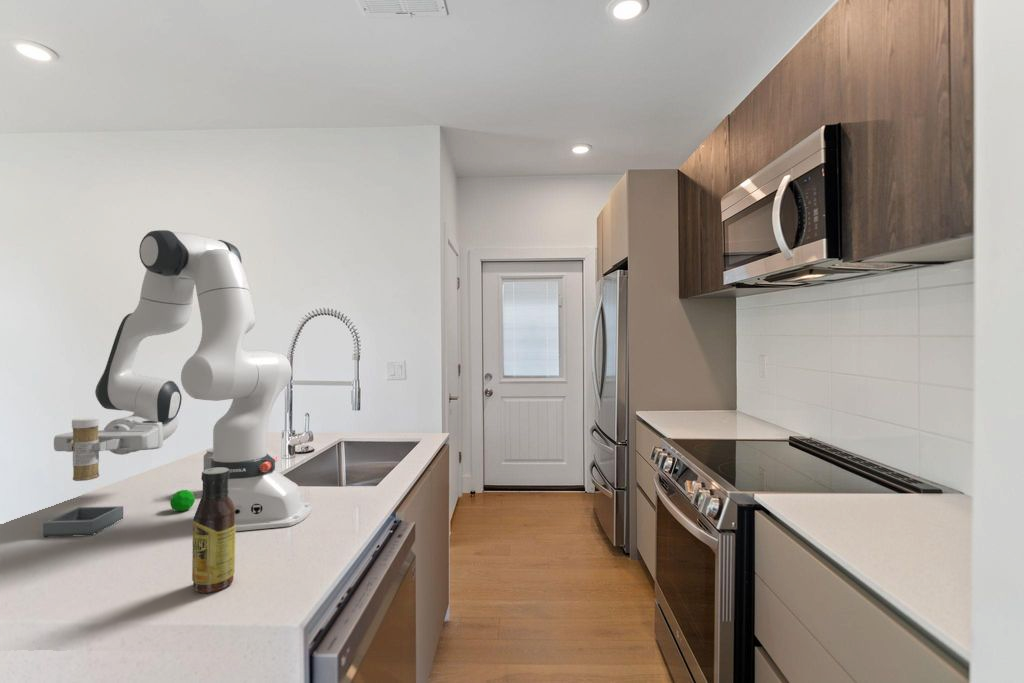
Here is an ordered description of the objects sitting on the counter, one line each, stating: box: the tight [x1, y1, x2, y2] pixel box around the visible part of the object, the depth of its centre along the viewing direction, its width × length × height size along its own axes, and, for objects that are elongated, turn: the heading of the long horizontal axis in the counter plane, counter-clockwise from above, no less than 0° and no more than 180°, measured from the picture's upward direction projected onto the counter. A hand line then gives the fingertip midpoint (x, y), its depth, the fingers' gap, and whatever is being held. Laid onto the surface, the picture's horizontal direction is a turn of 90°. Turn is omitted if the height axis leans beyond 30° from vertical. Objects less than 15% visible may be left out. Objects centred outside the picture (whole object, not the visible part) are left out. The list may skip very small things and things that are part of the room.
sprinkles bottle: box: [71, 416, 100, 482], centre depth 110 cm, size 5×5×13 cm
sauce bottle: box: [191, 467, 236, 594], centre depth 85 cm, size 6×6×20 cm
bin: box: [42, 505, 124, 537], centre depth 110 cm, size 10×10×3 cm
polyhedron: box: [169, 489, 196, 512], centre depth 121 cm, size 5×5×5 cm
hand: (82, 447), depth 109 cm, fingers closed on sprinkles bottle, 4 cm apart
